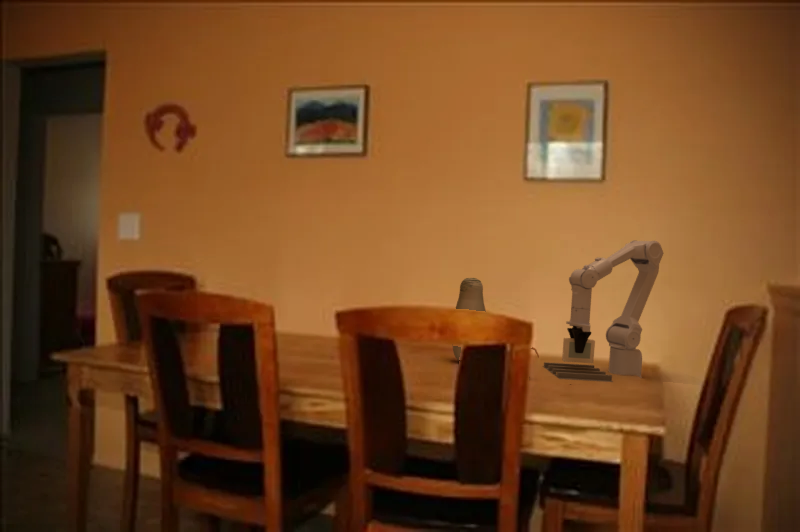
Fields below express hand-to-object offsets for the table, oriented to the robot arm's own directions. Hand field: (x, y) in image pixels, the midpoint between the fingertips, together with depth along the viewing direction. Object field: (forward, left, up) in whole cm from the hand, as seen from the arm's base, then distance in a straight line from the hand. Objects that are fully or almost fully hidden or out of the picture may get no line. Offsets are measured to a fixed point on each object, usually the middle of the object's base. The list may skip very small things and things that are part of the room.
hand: (577, 352), depth 193 cm
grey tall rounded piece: (+32, -14, -8) cm, 36 cm away
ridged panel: (0, 0, -8) cm, 8 cm away
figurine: (+19, +11, -8) cm, 23 cm away
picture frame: (0, 0, -3) cm, 3 cm away
